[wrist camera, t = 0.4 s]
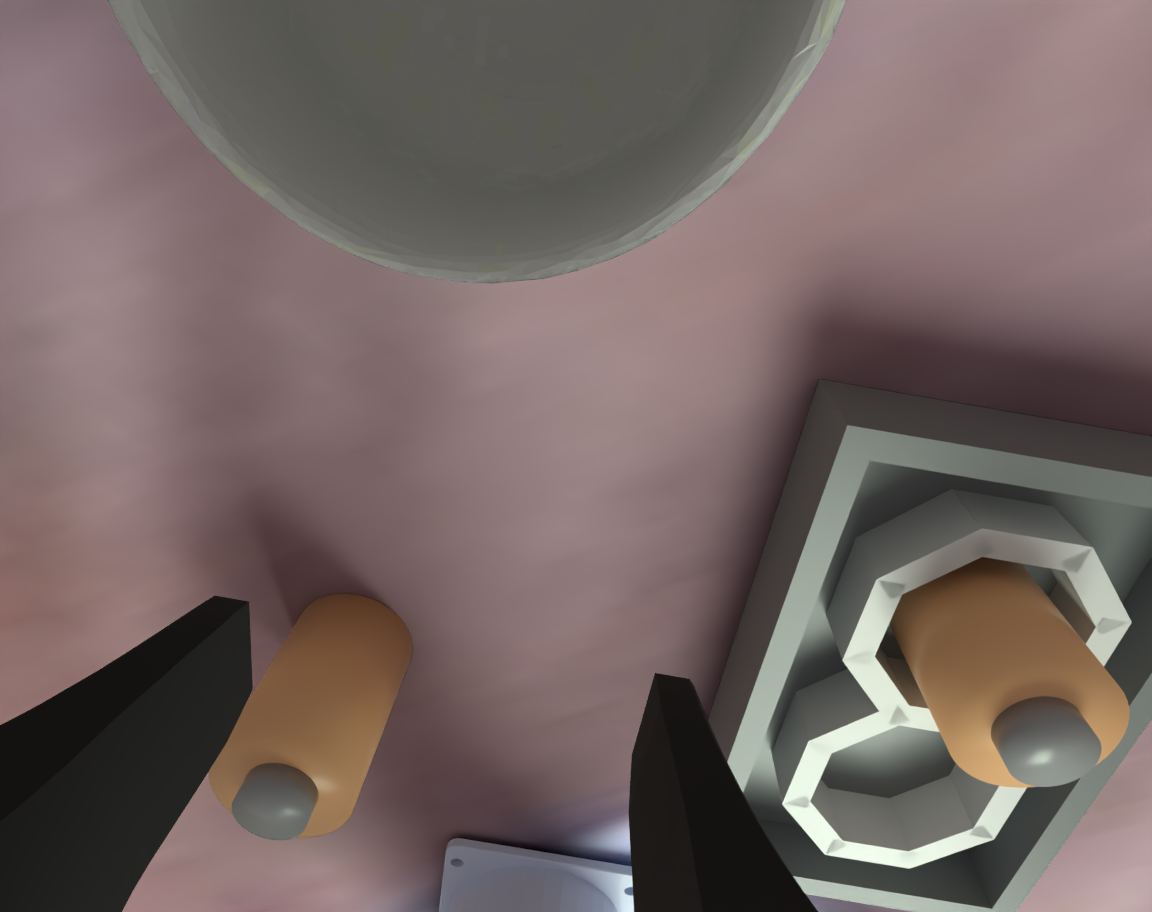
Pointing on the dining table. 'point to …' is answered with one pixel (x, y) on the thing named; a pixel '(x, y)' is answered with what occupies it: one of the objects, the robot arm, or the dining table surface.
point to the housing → (940, 647)
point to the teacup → (481, 115)
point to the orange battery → (314, 720)
